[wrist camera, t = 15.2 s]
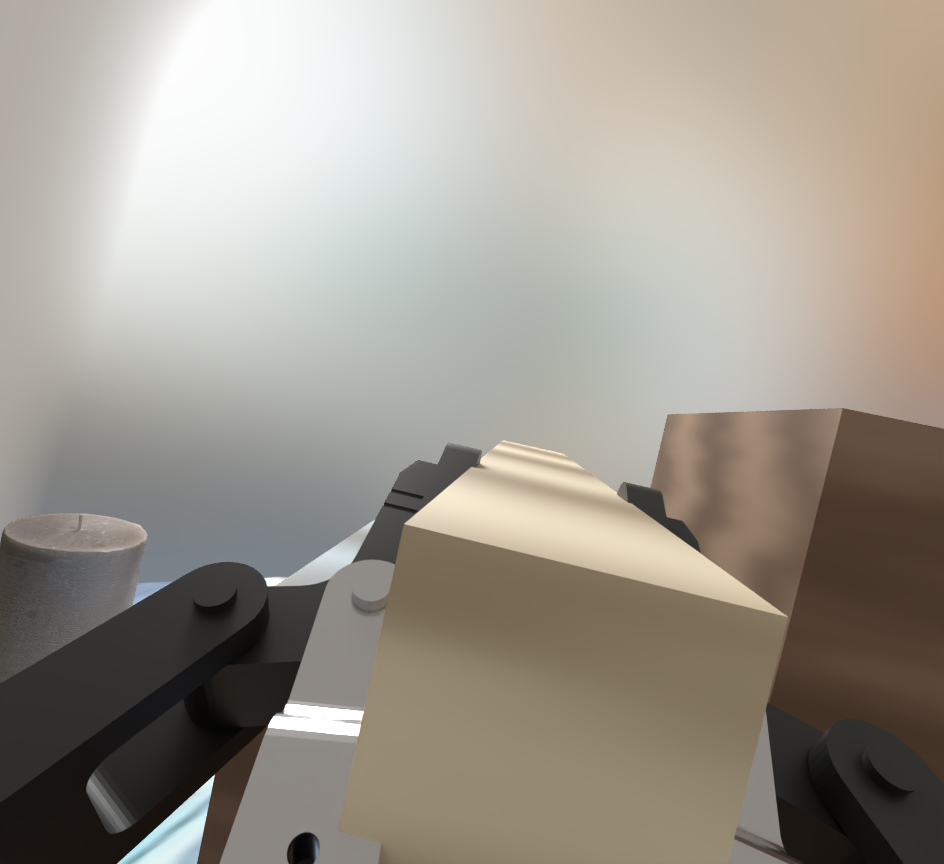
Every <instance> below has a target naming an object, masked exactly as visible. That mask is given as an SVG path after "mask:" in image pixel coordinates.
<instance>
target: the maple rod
mask: <svg viewBox="0 0 944 864" xmlns="http://www.w3.org/2000/svg"><path fill="white" fill-rule="evenodd" d="M787 620H788V616H786V615H785V614H783V613H782V612H781V611H779V610H778V609H777V608H775V607H774V606H772V605H771V604H770V603H768V602H767V601H765V600H764V599H763V598H761V597H760V596H759V595H757V594H756V593H754V592H753V591H752V590H750V589H749V588H748V587H746V586H745V585H743V584H742V583H741V582H739V581H738V580H736V579H735V578H734V577H732V576H731V575H730V574H728V573H727V572H725V571H724V570H723V569H721V568H720V567H719V566H717V565H716V564H714V563H713V562H712V561H710V560H709V559H707V558H706V557H705V556H703V555H702V554H701V553H699V552H698V551H696V550H695V549H694V548H692V547H691V546H690V545H688V544H687V543H685V542H684V541H683V540H681V539H680V538H679V537H677V536H676V535H674V534H673V533H672V532H670V531H669V530H667V529H666V528H665V527H663V526H662V525H661V524H659V523H658V522H656V521H655V520H654V519H652V518H651V517H650V516H648V515H647V514H645V513H644V512H643V511H641V510H640V509H638V508H637V507H636V506H634V505H633V504H631V503H628V502H626V501H625V500H624V499H622V498H621V497H619V496H618V495H617V493H616V492H615V491H614V490H612V489H611V488H609V487H608V486H607V485H605V484H604V483H603V482H601V481H600V480H598V479H597V478H596V477H594V476H593V475H592V474H590V473H588V472H587V471H586V470H585V469H583V468H582V467H580V466H579V465H578V464H576V463H575V462H573V461H572V460H570V459H569V458H568V457H567V456H565V455H564V454H562V453H557V452H553V451H548V450H544V449H540V448H535V447H531V446H526V445H522V444H517V443H513V442H508V441H504V440H503V441H502V442H501V443H499V444H498V445H497V446H496V447H495V448H493V449H492V450H491V451H490V452H489V453H487V454H486V455H485V456H484V457H483V458H482V459H481V460H480V464H479V465H478V466H477V467H475V468H474V467H471V468H470V469H468V470H467V471H466V472H465V473H464V474H463V475H461V476H460V477H459V478H458V479H457V480H455V481H454V482H453V483H452V484H451V485H450V486H448V487H447V488H446V489H445V490H444V491H442V492H441V493H440V494H439V495H438V496H437V497H435V498H434V499H433V500H432V501H431V502H429V503H428V504H427V505H426V506H425V507H423V508H422V509H421V510H420V511H419V512H418V513H416V514H415V515H414V516H413V517H412V518H410V519H409V520H408V521H407V522H406V523H405V524H404V526H403V531H402V535H401V540H400V544H399V549H398V554H397V558H396V563H395V568H394V572H393V577H392V581H391V586H390V591H389V595H388V600H387V605H386V609H385V614H384V618H383V623H382V628H381V632H380V637H379V641H378V646H377V651H376V655H375V660H374V665H373V669H372V674H371V678H370V683H369V688H368V692H367V697H366V701H365V706H364V711H363V715H362V720H361V725H360V729H359V734H358V738H357V743H356V748H355V752H354V757H353V762H352V766H351V771H350V775H349V780H348V785H347V789H346V794H345V798H344V803H343V808H342V812H341V817H340V822H339V826H338V831H342V832H345V833H348V834H352V835H355V836H358V837H362V838H365V839H368V840H372V841H375V842H378V843H381V849H380V857H379V864H728V862H729V858H730V853H731V849H732V845H733V841H734V837H735V833H736V829H737V825H738V821H739V817H740V812H741V808H742V804H743V800H744V796H745V792H746V788H747V784H748V780H749V776H750V772H751V767H752V763H753V759H754V755H755V751H756V747H757V743H758V739H759V735H760V731H761V726H762V722H763V718H764V714H765V710H766V706H767V702H768V698H769V694H770V690H771V686H772V681H773V677H774V673H775V669H776V665H777V661H778V657H779V653H780V649H781V645H782V641H783V636H784V632H785V628H786V624H787Z"/></svg>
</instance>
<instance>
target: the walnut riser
mask: <svg viewBox="0 0 944 864" xmlns="http://www.w3.org/2000/svg"><path fill="white" fill-rule="evenodd" d="M651 488H652V489H657V490H660V491H661V492H662V495H663V500H664V506H665V511H666V516H667V517H668V518H673V519H677V520H681V521H683V522H684V523H685V525H686V526H687V527H688V529H689V530H690V531H691V533H692V534H693V535H694V537H695V538H696V539H697V541H698V544H699V548H700V552H701V554H702V555H703V556H705V557H706V558H707V559H709V560H710V561H712V562H713V563H714V564H716V565H717V566H719V567H720V568H721V569H723V570H724V571H725V572H727V573H728V574H730V575H731V576H732V577H734V578H735V579H736V580H738V581H739V582H741V583H742V584H743V585H745V586H746V587H748V588H749V589H750V590H752V591H753V592H754V593H756V594H757V595H759V596H760V597H761V598H763V599H764V600H765V601H767V602H768V603H770V604H771V605H772V606H774V607H775V608H777V609H778V610H779V611H781V612H782V613H783V614H785V615H786V616H788V620H787V624H786V628H785V632H784V636H783V641H782V645H781V649H780V653H779V657H778V661H777V665H776V669H775V673H774V677H773V681H772V686H771V690H770V694H769V698H768V703H770V704H772V705H773V706H775V707H777V708H778V709H780V710H782V711H784V712H786V713H788V714H790V715H792V716H793V717H795V718H797V719H799V720H801V721H803V722H805V723H806V724H808V725H810V726H812V727H814V728H816V729H818V730H819V731H821V732H823V733H825V732H826V731H827V730H828V729H829V728H830V727H831V726H832V725H833V724H834V723H836V722H837V721H840V720H843V719H856V720H861V721H865V722H868V723H871V724H873V725H876V726H878V727H880V728H882V729H884V730H886V731H888V732H889V733H891V734H892V735H894V736H895V737H897V738H898V739H900V740H901V741H902V742H904V743H905V744H906V745H907V746H909V747H910V748H911V749H912V750H913V751H914V752H915V753H916V754H917V755H918V756H919V757H920V758H921V759H922V760H923V761H924V762H925V763H926V764H927V765H928V767H929V768H930V769H931V770H932V771H933V772H934V773H935V775H936V776H937V777H938V778H939V779H940V780H941V782H942V783H943V784H944V429H942V428H937V427H932V426H927V425H922V424H917V423H912V422H907V421H903V420H897V419H893V418H888V417H883V416H878V415H873V414H868V413H863V412H858V411H854V410H849V409H844V408H840V409H839V408H837V409H809V410H781V411H756V412H726V413H699V414H671V415H668V416H667V420H666V424H665V428H664V433H663V438H662V441H661V446H660V450H659V454H658V458H657V462H656V467H655V471H654V475H653V480H652V484H651ZM374 521H375V520H374ZM374 521H372V522H371V523H369V524H368V525H366V526H365V527H363V528H362V529H360V530H359V531H357V532H356V533H354V534H353V535H351V536H350V537H348V538H347V539H345V540H344V541H342V542H341V543H339V544H338V545H336V546H335V547H333V548H332V549H330V550H329V551H327V552H326V553H324V554H323V555H321V556H320V557H318V558H317V559H315V560H314V561H312V562H311V563H309V564H308V565H306V566H305V567H303V568H302V569H300V570H299V571H297V572H296V573H294V574H293V575H291V576H290V577H288V578H287V579H285V580H284V581H282V582H281V583H279V584H278V585H276V586H302V585H311V584H316V583H320V582H323V581H326V580H328V579H331V578H332V576H333V575H334V574H335V573H336V572H337V571H339V570H340V569H342V568H343V567H345V566H347V565H349V564H351V563H352V561H353V560H354V558H355V556H356V555H357V553H358V551H359V549H360V547H361V545H362V543H363V542H364V540H365V538H366V536H367V534H368V532H369V530H370V528H371V527H372V525H373V523H374ZM268 726H269V725H267V726H266V727H265V728H264V729H263V731H262V732H261V733H259V734H258V735H257V736H256V737H255V738H254V739H253V740H252V741H251V742H250V743H249V744H247V745H246V746H245V747H244V748H243V749H242V750H241V751H240V752H239V753H238V754H236V755H235V756H234V757H233V758H232V759H231V760H230V761H229V762H228V763H227V764H226V765H224V766H223V767H222V768H221V769H220V770H219V771H218V772H217V773H216V774H215V778H214V783H213V788H212V793H211V798H210V802H209V807H208V812H207V817H206V822H205V827H204V832H203V837H202V842H201V847H200V852H199V857H198V862H197V864H220V861H221V858H222V855H223V852H224V849H225V847H226V844H227V841H228V838H229V835H230V832H231V829H232V826H233V824H234V821H235V818H236V815H237V812H238V809H239V806H240V804H241V801H242V798H243V795H244V792H245V789H246V786H247V784H248V781H249V778H250V775H251V772H252V769H253V766H254V764H255V761H256V758H257V755H258V752H259V749H260V746H261V743H262V741H263V738H264V735H265V733H266V731H267V728H268Z"/></svg>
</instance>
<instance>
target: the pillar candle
mask: <svg viewBox="0 0 944 864" xmlns="http://www.w3.org/2000/svg"><path fill="white" fill-rule="evenodd" d="M147 537H148V536H147V534H146V531H144V530H143V529H142V527H141V526H140V525H138V524H135V523H130V522H128V521H124V520H120V519H117V518H112V517H106V516H99V515H92V514H75V513H63V514H45V515H36V516H32V517H27V518H22V519H19V520H16V521H14V522H11V523H10V524H8V525H7V526H6V527H5V528H4V530H3V533H2V538H1V543H0V683H2V682H4V681H5V680H7V679H9V678H11V677H12V676H14V675H16V674H17V673H19V672H21V671H22V670H24V669H26V668H28V667H29V666H31V665H33V664H34V663H36V662H38V661H40V660H41V659H43V658H45V657H46V656H48V655H50V654H51V653H53V652H55V651H57V650H58V649H60V648H62V647H63V646H65V645H67V644H68V643H70V642H72V641H74V640H75V639H77V638H79V637H80V636H82V635H84V634H85V633H87V632H89V631H91V630H92V629H94V628H96V627H97V626H99V625H101V624H103V623H104V622H106V621H108V620H109V619H111V618H113V617H114V616H116V615H118V614H120V613H121V612H123V611H125V610H126V609H128V608H130V607H131V606H133V602H134V597H135V592H136V587H137V582H138V577H139V572H140V567H141V562H142V557H143V553H144V548H145V544H146V540H147Z"/></svg>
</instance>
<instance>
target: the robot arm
mask: <svg viewBox="0 0 944 864" xmlns="http://www.w3.org/2000/svg"><path fill="white" fill-rule="evenodd" d="M481 453H482V451H481V450H478V449H474V448H469V447H465V446H461V445H456V444H452V443H447V445H446V447H445V450H444V452H443V454H442V456H441V459H440V461H439V463H438V465H437V464H432V463H428V462H424V461H419V460H418V461H416V462H415V463H413V464H412V465H410V466H409V467H408V468H406V469H405V470H403V471H402V472H400V474H399V476H398V478H397V480H396V482H395V484H394V486H393V487H392V491H391V492H390V493H389V495H388V497H387V499H386V500H385V503H384V506H382V508H381V510H380V512H379V514H378V515H377V517H376V519H375V521H374V523H373V525H372V527H371V528H370V530H369V532H368V534H367V536H366V538H365V540H364V542H363V543H362V545H361V547H360V549H359V551H358V553H357V555H356V556H355V558H354V560H353V561H352V563H351V564H349V565H347V566H345V567H343V568H342V569H340V570H339V571H337V572H336V573H335V574H334V575H333V576H332V578H331V579H328V580H326V581H323V582H320V583H316V584H311V585H302V586H270V587H267V585H266V581H265V579H264V578H263V576H262V575H261V574H260V573H259V572H258V571H257V570H255V569H254V568H252V567H250V566H248V565H245V564H240V563H234V562H221V563H214V564H210V565H206V566H203V567H200V568H198V569H195V570H194V571H191V572H190V573H188V574H186V575H184V576H183V577H181V578H179V579H178V580H176V581H174V582H172V583H171V584H169V585H167V586H165V587H164V588H162V589H160V590H159V591H157V592H155V593H154V594H152V595H150V596H148V597H147V598H145V599H143V600H142V601H140V602H138V603H137V604H135V605H133V606H131V607H130V608H128V609H126V610H125V611H123V612H121V613H120V614H118V615H116V616H114V617H113V618H111V619H109V620H108V621H106V622H104V623H103V624H101V625H99V626H97V627H96V628H94V629H92V630H91V631H89V632H87V633H85V634H84V635H82V636H80V637H79V638H77V639H75V640H74V641H72V642H70V643H68V644H67V645H65V646H63V647H62V648H60V649H58V650H57V651H55V652H53V653H51V654H50V655H48V656H46V657H45V658H43V659H41V660H40V661H38V662H36V663H34V664H33V665H31V666H29V667H28V668H26V669H24V670H22V671H21V672H19V673H17V674H16V675H14V676H12V677H11V678H9V679H7V680H5V681H4V682H2V683H0V864H117V863H118V862H119V861H120V860H121V859H123V858H124V857H125V856H126V855H127V854H128V853H129V852H130V851H131V850H132V849H134V848H135V847H136V846H137V845H138V844H139V843H140V842H141V841H142V840H143V839H144V838H146V837H147V836H148V835H149V834H150V833H151V832H152V831H153V830H154V829H155V828H157V827H158V826H159V825H160V824H161V823H162V822H163V821H164V820H165V819H166V818H167V817H169V816H170V815H171V814H172V813H173V812H174V811H175V810H176V809H177V808H178V807H180V806H181V805H182V804H183V803H184V802H185V801H186V800H187V799H188V798H189V797H190V796H192V795H193V794H194V793H195V792H196V791H197V790H198V789H199V788H200V787H201V786H203V785H204V784H205V783H206V782H207V781H208V780H209V779H210V778H211V777H212V776H213V775H215V774H216V773H217V772H218V771H219V770H220V769H221V768H222V767H223V766H224V765H226V764H227V763H228V762H229V761H230V760H231V759H232V758H233V757H234V756H235V755H236V754H238V753H239V752H240V751H241V750H242V749H243V748H244V747H245V746H246V745H247V744H249V743H250V742H251V741H252V740H253V739H254V738H255V737H256V736H257V735H258V734H259V733H261V732H262V731H263V729H264V728H265V727H266V726H267V725H269V726H268V728H267V731H266V733H265V735H264V738H263V741H262V743H261V746H260V749H259V752H258V755H257V758H256V761H255V764H254V766H253V769H252V772H251V775H250V778H249V781H248V784H247V786H246V789H245V792H244V795H243V798H242V801H241V804H240V806H239V809H238V812H237V815H236V818H235V821H234V824H233V826H232V829H231V832H230V835H229V838H228V841H227V844H226V847H225V849H224V852H223V855H222V858H221V861H220V864H379V857H380V849H381V843H378V842H375V841H372V840H368V839H365V838H362V837H358V836H355V835H352V834H348V833H345V832H342V831H338V826H339V822H340V817H341V812H342V808H343V803H344V798H345V794H346V789H347V785H348V780H349V775H350V771H351V766H352V762H353V757H354V752H355V748H356V743H357V738H358V734H359V729H360V725H361V720H362V715H363V711H364V706H365V701H366V697H367V692H368V688H369V683H370V678H371V674H372V669H373V665H374V660H375V655H376V651H377V646H378V641H379V637H380V632H381V628H382V623H383V618H384V614H385V609H386V605H387V600H388V595H389V591H390V586H391V581H392V577H393V572H394V568H395V563H396V558H397V554H398V549H399V544H400V540H401V535H402V531H403V526H404V524H405V523H406V522H407V521H408V520H409V519H410V518H412V517H413V516H414V515H415V514H416V513H418V512H419V511H420V510H421V509H422V508H423V507H425V506H426V505H427V504H428V503H429V502H431V501H432V500H433V499H434V498H435V497H437V496H438V495H439V494H440V493H441V492H442V491H444V490H445V489H446V488H447V487H448V486H450V485H451V484H452V483H453V482H454V481H455V480H457V479H458V478H459V477H460V476H461V475H463V474H464V473H465V472H466V471H467V470H468V469H470V468H471V467H474V468H475V467H477V466H478V465H479V464H480V460H481ZM617 495H618V496H619V497H621V498H622V499H624V500H625V501H626V502H628V503H631V504H633V505H634V506H636V507H637V508H638V509H640V510H641V511H643V512H644V513H645V514H647V515H648V516H650V517H651V518H652V519H654V520H655V521H656V522H658V523H659V524H661V525H662V526H663V527H665V528H666V529H667V530H669V531H670V532H672V533H673V534H674V535H676V536H677V537H679V538H680V539H681V540H683V541H684V542H685V543H687V544H688V545H690V546H691V547H692V548H694V549H695V550H696V551H698V552H699V553H701V552H700V548H699V544H698V541H697V539H696V538H695V537H694V535H693V534H692V533H691V531H690V530H689V529H688V527H687V526H686V525H685V523H684V522H683V521H681V520H677V519H673V518H668V517H667V516H666V511H665V506H664V500H663V495H662V492H661V491H660V490H657V489H652V488H648V487H643V486H638V485H635V484H630V483H626V482H623V483H622V484H621V486H620V488H619V490H618V493H617ZM728 864H944V784H943V783H942V782H941V780H940V779H939V778H938V777H937V776H936V775H935V773H934V772H933V771H932V770H931V769H930V768H929V767H928V765H927V764H926V763H925V762H924V761H923V760H922V759H921V758H920V757H919V756H918V755H917V754H916V753H915V752H914V751H913V750H912V749H911V748H910V747H909V746H907V745H906V744H905V743H904V742H902V741H901V740H900V739H898V738H897V737H895V736H894V735H892V734H891V733H889V732H888V731H886V730H884V729H882V728H880V727H878V726H876V725H873V724H871V723H868V722H865V721H861V720H856V719H843V720H840V721H837V722H836V723H834V724H833V725H832V726H831V727H830V728H829V729H828V730H827V731H826V732H825V733H823V732H821V731H819V730H818V729H816V728H814V727H812V726H810V725H808V724H806V723H805V722H803V721H801V720H799V719H797V718H795V717H793V716H792V715H790V714H788V713H786V712H784V711H782V710H780V709H778V708H777V707H775V706H773V705H772V704H770V703H768V702H767V706H766V710H765V714H764V718H763V722H762V726H761V731H760V735H759V739H758V743H757V747H756V751H755V755H754V759H753V763H752V767H751V772H750V776H749V780H748V784H747V788H746V792H745V796H744V800H743V804H742V808H741V812H740V817H739V821H738V825H737V829H736V833H735V837H734V841H733V845H732V849H731V853H730V858H729V862H728Z"/></svg>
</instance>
